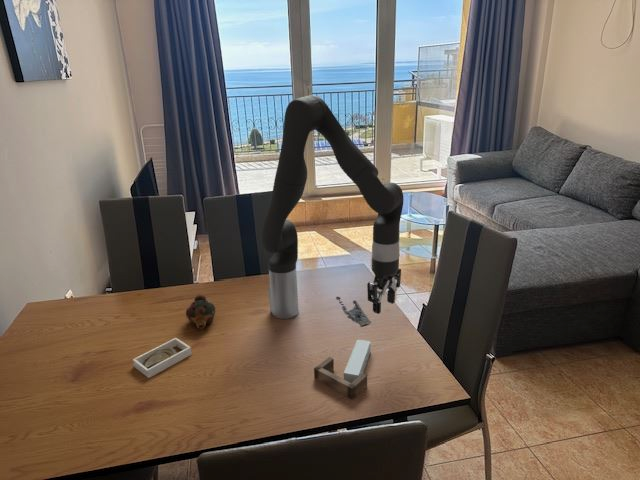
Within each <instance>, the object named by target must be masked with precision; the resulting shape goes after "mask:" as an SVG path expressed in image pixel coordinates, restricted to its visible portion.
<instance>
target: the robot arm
mask: <svg viewBox="0 0 640 480" xmlns="http://www.w3.org/2000/svg"><path fill="white" fill-rule="evenodd" d="M282 129H283V130H282V140H281V147H280V152H279V159H278V162H277V168H276V171H275V176H274V181H273V182H274V183H273V187H272V193H271V198H270V201H269V206H268V209H267V211H266V215H265V219H264V221H263V224H262V228H261V232H260V241H261V245H262V246H261V247H262V248H263V249H264V251H266V253H269V254H273V255H272V256H271V257H270V258H269V260H268V262H267V266H268V277H269V287H267V288H268V289H267V290H268V299H269V311H270V313H271V314H272V316H273V317H275V318H277V319H279V320H280V319H284V320H286V319H292V318H294V317H296V316H297V315H298V314H299V296H298V295H299V293H298V277H297V274H298V273H297V262H298V260H299V259H298V256H299V252H298V251H299V240H298V239H299V238H298V231H297V228H296V226H295V224H294V223H293V222H292V221H291V220H288V219H287V218H288V217H289V215H290V214H291V212H292V211H293V210H294V209H295V207H297V205H298V203H299V201H300V200H301V198H303V194H304V192H305V187H306V184H307V179H308V168H307V163H306V159H305V149H306V145H307V141H308V138H309V135H310V134H311V133H310V132H313V131H316V132H318V133H319V134H320V135H321V136H322V137H323V138H324V139H325V140H326V141H327V142H328V144H329V145H330V148H331V150H332V152H333V154H334V157H335V159H336V162H337V163H338V166H339V167H340V169H341V171H342V172H343V173H344V174H345V175H346V176H347V177H348V178H349V179H350V180H351V182H353V183H354V184H355V185H356V186H357V188H358V190H359V192H360V194H361V195H362V197H363V199H364V200H365V203H366V205H368V206H369V207H370V209H372V211H374V212H376V213H377V217H376V219H375V220H374V222H373V224H372V225H373V227H372V246H371V271H372V273H373V274H374V279H373V281H372V282H370V281H368V282H367V284H366V287H367V291H366V292H367V301H368V302H369V303H372V312H373V313H375V314H377V315H379V314H381V313H382V312H381V311H382V298H383V296H385V295H387V297H386V299H387V303H390V304H395V302H396V292H397V289H399V288H400V287H401V279H402V278H401V277H402V268H399V266H400V265H399V264H400V244H399V243H400V242H399V241H400V240H399V238H400V237H399V236H400V221H401V219H402V218H401V217H402V212H403V208H404V207H403V206H404V201H405V199H404V193H403V190H402V188H401V186H400V185H398V184H397V183H395V182H386V183H384V184H383V182H382V181H381V180H380V178H379V177H378V176H379V169H378V168H377V167H376V166H375V164H374V163H373V162H372V161H371V160H370V159H369V158H368V157H367V156H366V155H365V154H364V153H363V151H361V149H360V148H359V147H358V146H357V145H356V144H355V143H354V141H353V140H352V139H351V138H350V136H349V135H348V134H347V132H346V130H345V129H344V127H343V126H342V125H341V123H340V122H339V120H338V118H336V116H335V114H334V113H333V111H332V110H331V108H330V107H329V105H328V104H327V103H326V102H325V101H324V99H323V98H322V97H320V96H318V95H314V94H310V95H306V96H302V97H297V98H294V99H293V100H291V101H290V102H289V103H288V105H287V106H286V108H285V113H284V120H283V127H282ZM379 290H380V291H379ZM386 290H387V294H386Z"/></svg>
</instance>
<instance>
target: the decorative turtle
mask: <svg viewBox="0 0 640 480" xmlns="http://www.w3.org/2000/svg"><path fill="white" fill-rule="evenodd" d="M215 315H216V306H215V304H213V302H211V301H209V300H207V297H206V295H205V294H203V293H201V292H200V293H198V294H196V295H195V297H194V301H193V302H191V303H190V304H189V305H188V306H187V308H186V311H185V316H186V318H187V319H188V320H189V322H190V323H191V325H193V326H194V327H195V326H196V328H197V329H199V330H200V329H201V330H203V329H205V327H206V325H207V324H211V323H212V322H213V320H214V317H215Z"/></svg>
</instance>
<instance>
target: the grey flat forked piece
mask: <svg viewBox="0 0 640 480" xmlns="http://www.w3.org/2000/svg"><path fill="white" fill-rule="evenodd" d="M335 299H336V300H337V301H339V302H338V303H339V304H341V305H340V306H342V307H341V308H342V310H343V311H344V313H345V315H346V317H347V318H348V319H350V320H351V321H352V322H355V324H358V325H359V327H360V328H361V327H362V326H365V325H370V324H371V323H372V322H371V320H370V319H369V318H368V316H367V315H366V313H365V312H364V311H363V309H362V307H361V306H360V304H359V303H358V301H357V300H353V301H352V303H353V305H354V304H355V305H354V306H353V307H352V309H349V310H348V308H347V306H345V303H344V304H343V301H342V298H341V297H340V296H336V297H335ZM340 299H341V300H340Z"/></svg>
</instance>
